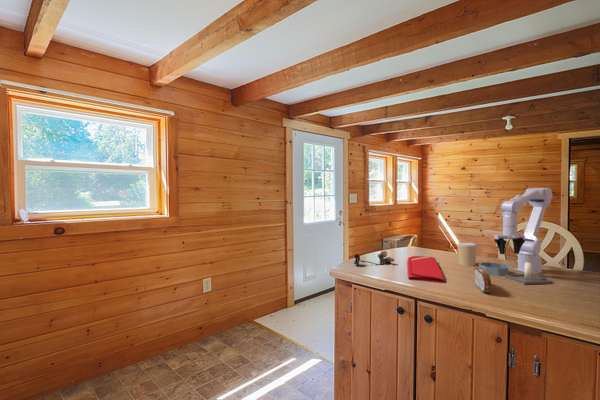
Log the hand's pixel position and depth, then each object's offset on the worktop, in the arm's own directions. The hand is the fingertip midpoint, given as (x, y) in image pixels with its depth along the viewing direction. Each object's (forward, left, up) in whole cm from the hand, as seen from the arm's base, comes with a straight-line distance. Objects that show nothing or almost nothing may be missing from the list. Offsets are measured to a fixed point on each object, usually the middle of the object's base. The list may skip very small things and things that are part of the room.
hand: (509, 253), depth 148 cm
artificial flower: (+57, -30, -11) cm, 65 cm away
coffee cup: (+8, -20, -11) cm, 24 cm away
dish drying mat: (+36, -14, -11) cm, 41 cm away
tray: (-1, +10, -10) cm, 14 cm away
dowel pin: (-1, +10, -10) cm, 14 cm away
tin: (+28, +18, -11) cm, 35 cm away
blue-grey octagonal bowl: (+5, -4, -10) cm, 12 cm away
